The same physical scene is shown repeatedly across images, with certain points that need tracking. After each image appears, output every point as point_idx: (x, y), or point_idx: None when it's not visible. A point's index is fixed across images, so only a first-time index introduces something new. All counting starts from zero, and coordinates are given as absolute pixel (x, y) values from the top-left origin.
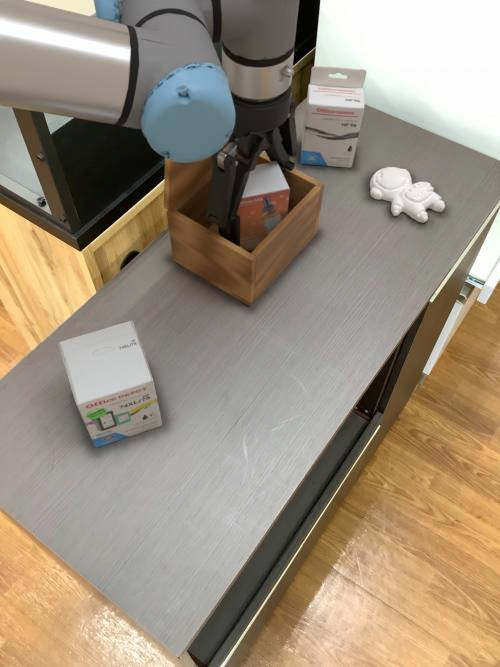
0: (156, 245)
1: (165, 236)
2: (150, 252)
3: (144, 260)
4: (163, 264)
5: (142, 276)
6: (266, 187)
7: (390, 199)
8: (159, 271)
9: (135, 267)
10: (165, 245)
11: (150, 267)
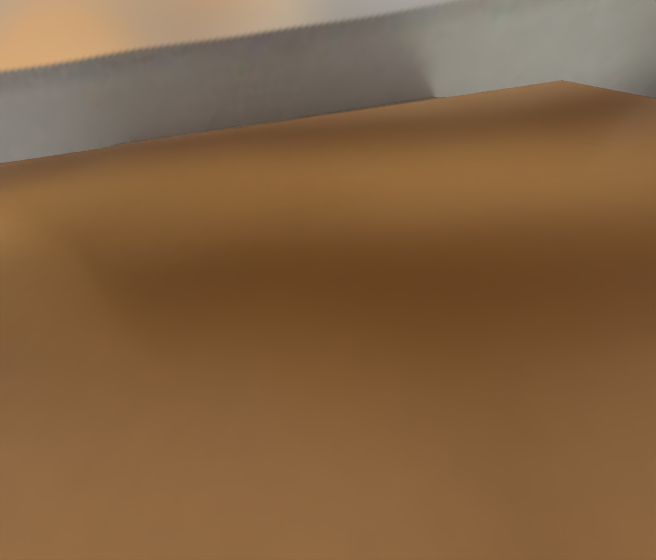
0: (103, 61)
1: (145, 52)
2: (73, 70)
3: (43, 82)
4: (88, 136)
5: (14, 126)
6: None
7: None
8: (67, 147)
9: (6, 83)
10: (127, 83)
11: (49, 117)
